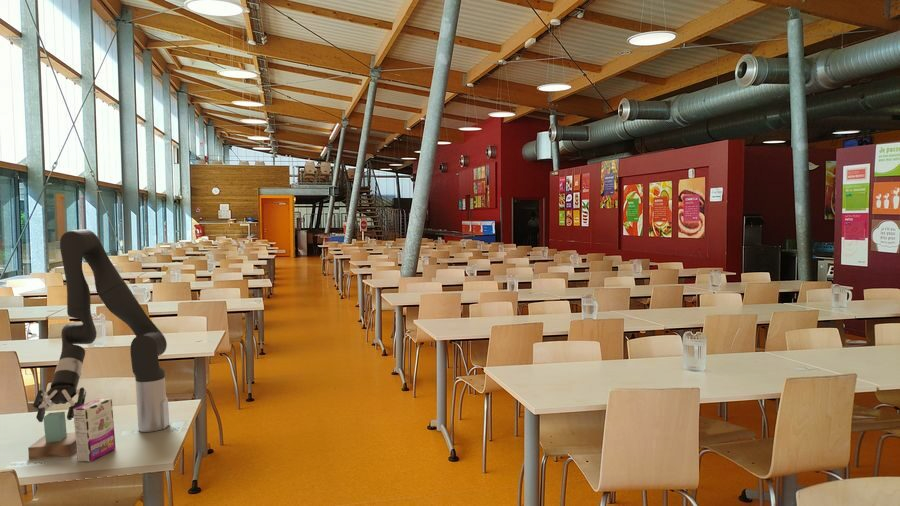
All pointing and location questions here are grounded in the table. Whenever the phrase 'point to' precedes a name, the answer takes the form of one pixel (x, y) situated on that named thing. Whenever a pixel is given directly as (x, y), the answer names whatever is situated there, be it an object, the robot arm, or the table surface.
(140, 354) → the robot arm
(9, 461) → the table surface
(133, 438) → the table surface
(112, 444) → the candy bar box
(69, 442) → the walnut block
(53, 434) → the teal pillar block
